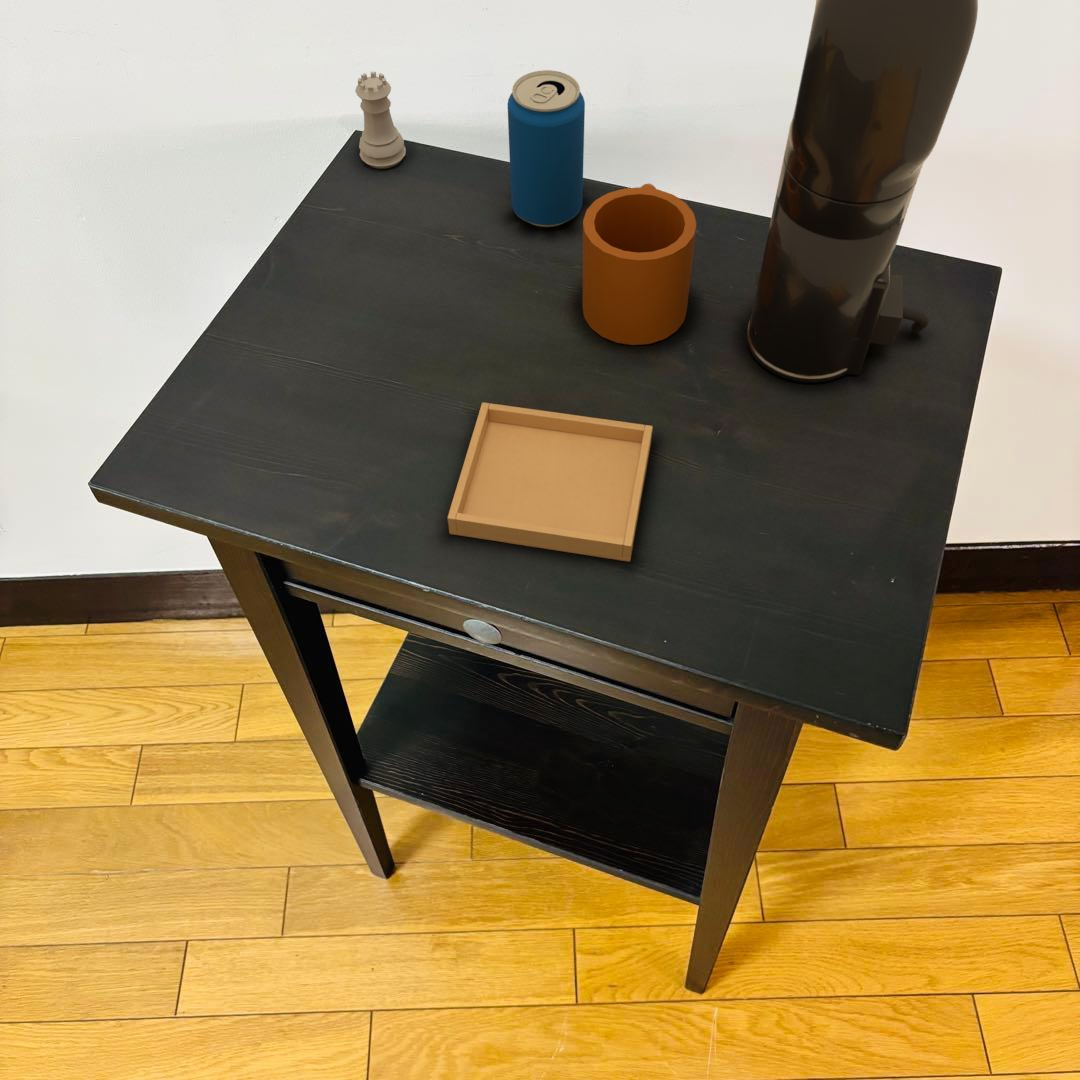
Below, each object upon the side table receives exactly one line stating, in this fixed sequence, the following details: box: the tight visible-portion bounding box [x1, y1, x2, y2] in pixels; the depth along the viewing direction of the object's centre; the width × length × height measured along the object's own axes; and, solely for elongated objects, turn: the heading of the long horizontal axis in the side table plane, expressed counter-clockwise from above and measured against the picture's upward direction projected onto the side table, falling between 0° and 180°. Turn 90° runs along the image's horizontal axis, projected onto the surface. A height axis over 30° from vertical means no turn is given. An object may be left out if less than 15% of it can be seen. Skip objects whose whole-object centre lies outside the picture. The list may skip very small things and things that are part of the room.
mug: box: [581, 183, 697, 346], centre depth 87 cm, size 9×12×9 cm
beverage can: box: [507, 69, 586, 228], centre depth 93 cm, size 6×6×12 cm
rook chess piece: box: [354, 71, 407, 170], centre depth 99 cm, size 4×4×8 cm
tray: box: [446, 401, 654, 563], centre depth 78 cm, size 13×11×2 cm
